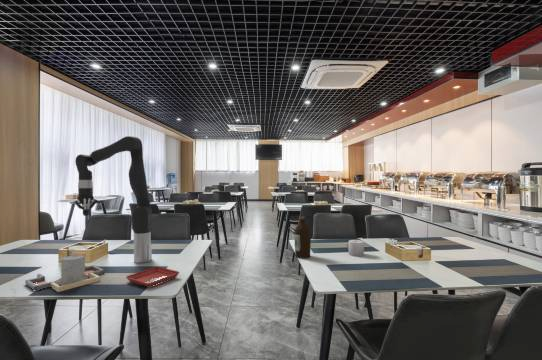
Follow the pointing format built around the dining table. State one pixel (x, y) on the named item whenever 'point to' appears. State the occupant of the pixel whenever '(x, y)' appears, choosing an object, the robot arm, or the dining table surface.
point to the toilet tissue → (356, 248)
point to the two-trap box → (89, 271)
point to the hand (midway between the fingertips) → (85, 215)
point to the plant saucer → (152, 276)
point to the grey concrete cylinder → (72, 269)
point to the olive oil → (302, 239)
